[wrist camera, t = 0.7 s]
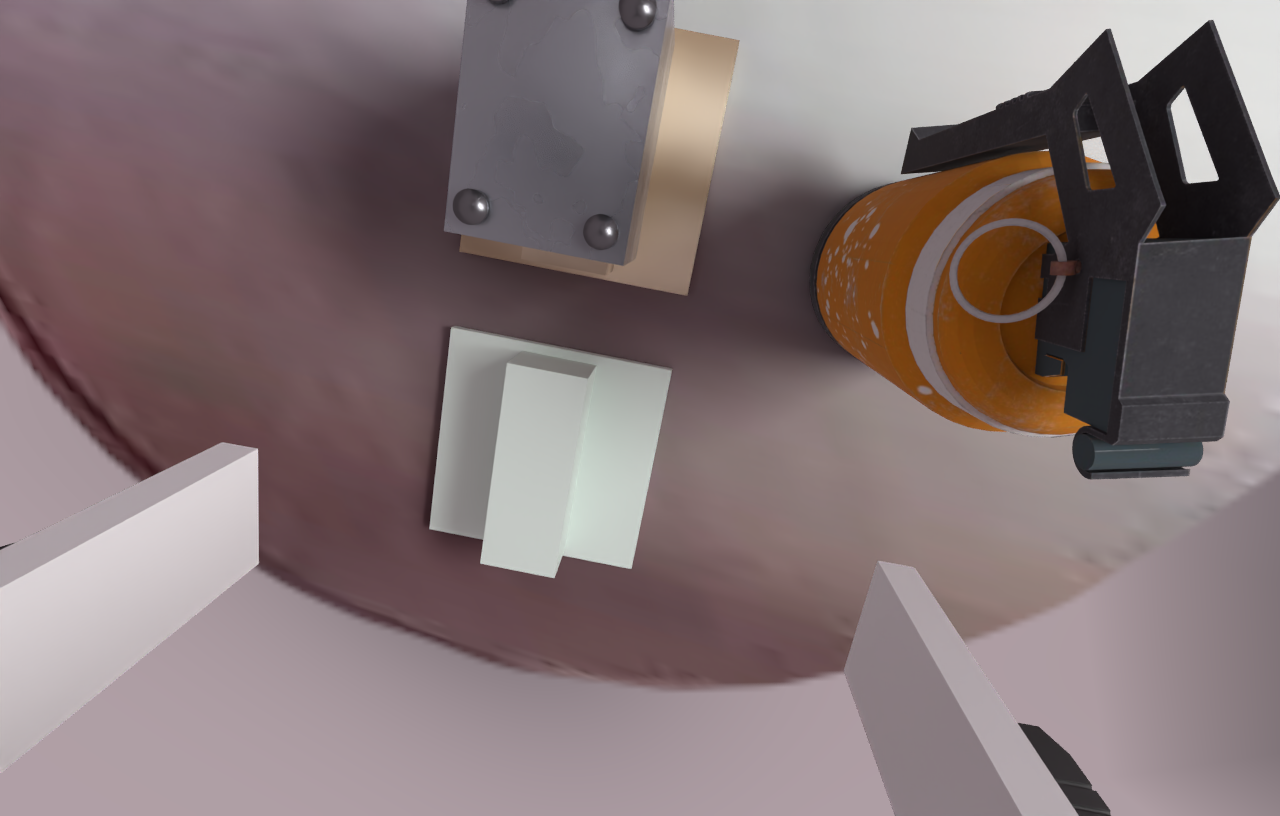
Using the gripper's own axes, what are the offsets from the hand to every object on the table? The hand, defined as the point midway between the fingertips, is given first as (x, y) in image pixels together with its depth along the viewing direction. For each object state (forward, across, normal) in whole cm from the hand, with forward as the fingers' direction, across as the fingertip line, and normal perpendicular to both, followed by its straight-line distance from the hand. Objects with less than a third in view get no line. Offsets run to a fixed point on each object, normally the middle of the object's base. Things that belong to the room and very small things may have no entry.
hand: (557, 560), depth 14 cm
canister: (+23, +12, +7) cm, 27 cm away
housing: (+18, -4, +10) cm, 21 cm away
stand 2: (+22, -4, -6) cm, 23 cm away
